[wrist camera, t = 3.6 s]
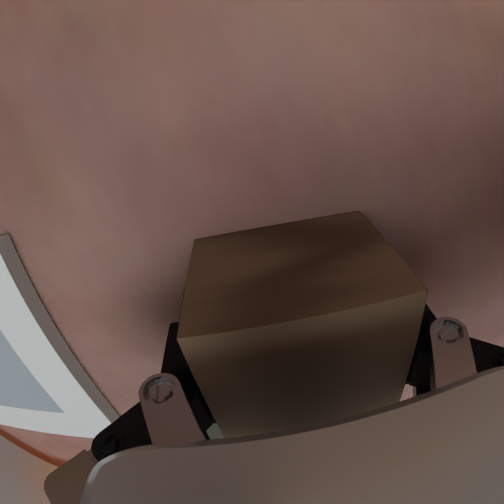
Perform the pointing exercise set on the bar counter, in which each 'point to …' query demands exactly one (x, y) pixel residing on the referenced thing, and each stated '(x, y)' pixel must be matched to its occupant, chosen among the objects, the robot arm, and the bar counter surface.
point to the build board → (41, 364)
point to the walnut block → (299, 323)
